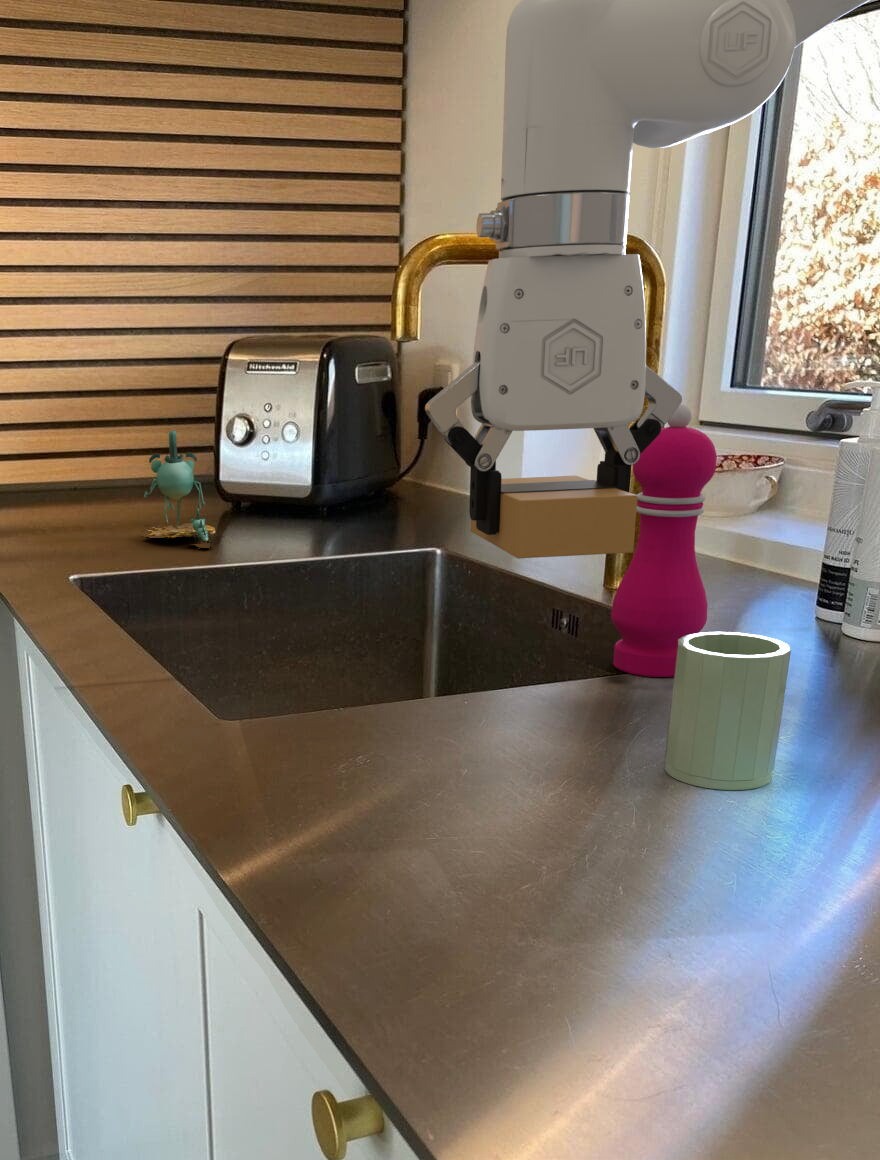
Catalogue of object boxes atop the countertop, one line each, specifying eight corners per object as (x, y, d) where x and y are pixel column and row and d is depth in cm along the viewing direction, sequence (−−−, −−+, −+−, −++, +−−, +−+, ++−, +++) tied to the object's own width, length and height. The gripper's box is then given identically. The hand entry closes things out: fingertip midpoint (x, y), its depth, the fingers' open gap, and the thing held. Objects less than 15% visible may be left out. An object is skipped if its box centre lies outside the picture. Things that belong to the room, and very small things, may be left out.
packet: (469, 531, 85) (471, 479, 83) (573, 526, 85) (576, 474, 84) (517, 558, 74) (519, 499, 73) (633, 552, 75) (638, 493, 74)
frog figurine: (151, 554, 149) (141, 428, 145) (135, 547, 166) (125, 434, 162) (228, 549, 151) (220, 425, 147) (204, 543, 168) (197, 431, 164)
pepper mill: (660, 652, 101) (686, 400, 94) (720, 673, 95) (753, 405, 88) (588, 661, 99) (609, 403, 92) (645, 683, 92) (673, 408, 85)
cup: (741, 753, 77) (758, 630, 74) (791, 787, 71) (811, 655, 69) (648, 758, 77) (661, 634, 74) (690, 792, 71) (706, 659, 68)
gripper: (436, 231, 69) (431, 544, 75) (729, 224, 71) (699, 531, 77) (407, 240, 76) (405, 526, 82) (674, 233, 78) (652, 514, 84)
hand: (547, 527), depth 80 cm, fingers closed on packet, 7 cm apart
